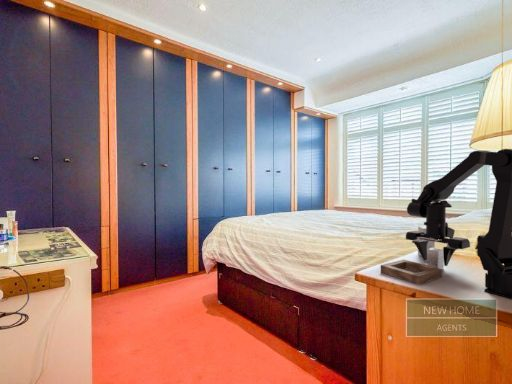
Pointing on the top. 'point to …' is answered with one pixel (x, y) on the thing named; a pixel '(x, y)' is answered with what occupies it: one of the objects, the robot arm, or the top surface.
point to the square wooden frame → (423, 276)
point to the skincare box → (430, 243)
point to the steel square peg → (435, 258)
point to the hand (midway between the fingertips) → (435, 263)
